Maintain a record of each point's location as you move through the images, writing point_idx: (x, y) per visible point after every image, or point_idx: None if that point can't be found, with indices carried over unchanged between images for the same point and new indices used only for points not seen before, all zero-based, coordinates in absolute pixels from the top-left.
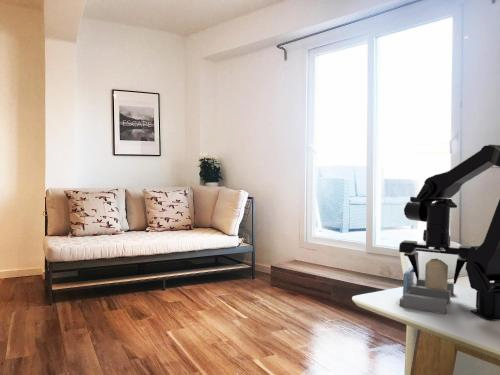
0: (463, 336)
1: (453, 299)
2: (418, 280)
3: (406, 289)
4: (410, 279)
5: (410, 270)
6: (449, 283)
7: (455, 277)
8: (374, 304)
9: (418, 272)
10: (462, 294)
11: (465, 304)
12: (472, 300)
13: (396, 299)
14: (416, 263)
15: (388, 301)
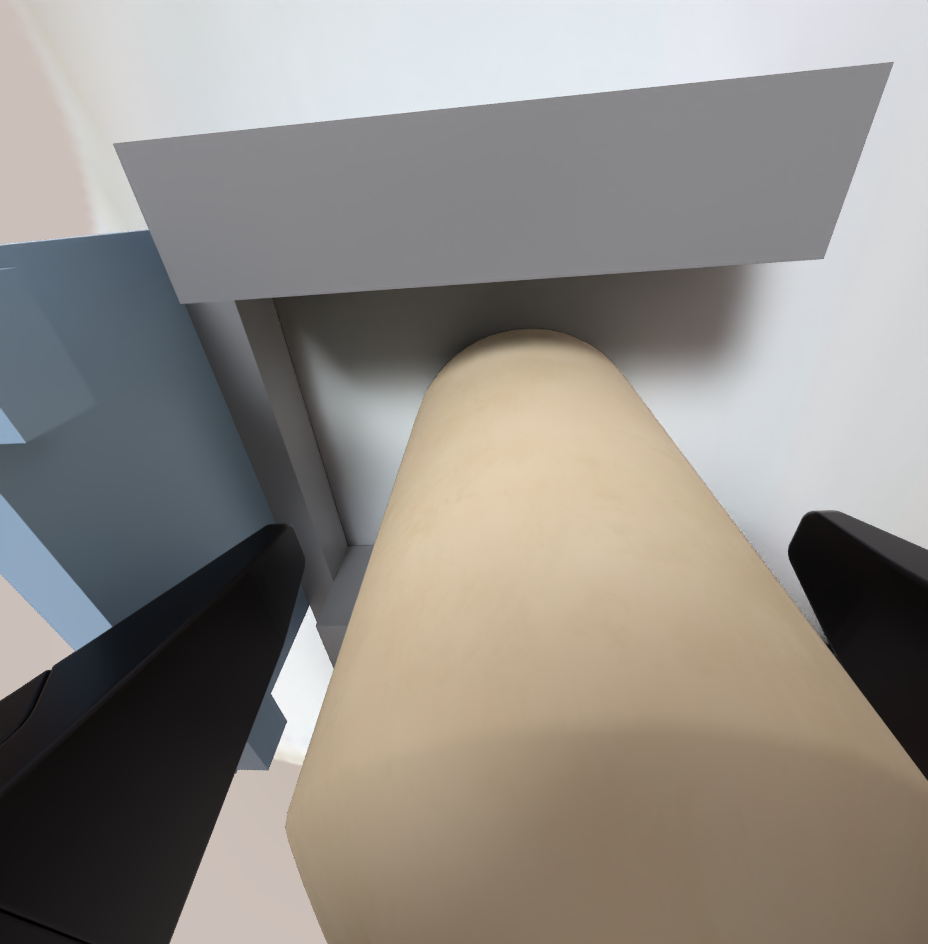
0: None
1: (693, 447)
2: (220, 295)
3: (301, 613)
4: (207, 529)
5: (98, 621)
6: (750, 259)
7: (873, 676)
8: (285, 744)
9: (260, 641)
10: (896, 73)
11: (774, 538)
12: (912, 366)
13: (313, 651)
14: (175, 908)
15: (303, 693)
